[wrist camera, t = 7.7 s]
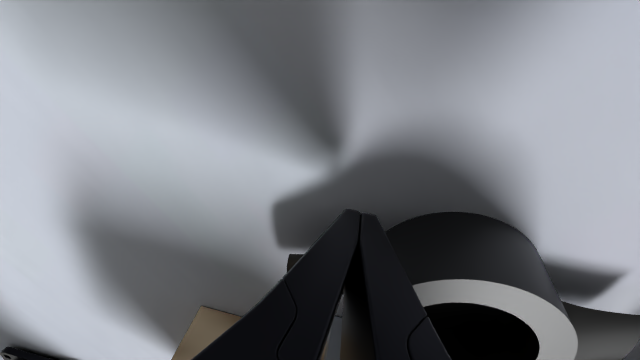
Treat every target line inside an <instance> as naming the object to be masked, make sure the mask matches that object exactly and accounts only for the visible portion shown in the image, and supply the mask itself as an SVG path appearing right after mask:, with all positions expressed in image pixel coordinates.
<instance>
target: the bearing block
mask: <svg viewBox="0 0 640 360" xmlns="http://www.w3.org/2000/svg"><path fill="white" fill-rule="evenodd" d="M241 318H242V317H240V316H236V315H232V314H229V313H225V312H221V311H217V310H214V309H210V308H206V307H203V306H201V307H200V309H199V311H198V312H197V314H196V316H195V318H194V320H193V321H192V323H191V325H190V327H189V329H188V330H187V332H186V334H185V336H184V338H183V339H182V341H181V343H180V345H179V347H178V348H177V350H176V352H175V354H174V356H173V357H172V359H171V360H191V359H192V358H193V357H195V356H196V355H197V354H198V353H200V352H201V351H202V350H203V349H204V348H206V347H207V346H208V345H209V344H210V343H212V342H213V341H214V340H215V339H217V338H218V337H219V336H220V335H221V334H223V333H224V332H225V331H226V330H227V329H229V328H230V327H231V326H232V325H233V324H235V323H236V322H237V321H238V320H239V319H241ZM326 343H327V341H326ZM325 349H326V344H325V347H324V350H323V353H322V356H321V359H320V360H324V355H325Z"/></svg>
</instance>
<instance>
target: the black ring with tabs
mask: <svg viewBox="0 0 640 360" xmlns="http://www.w3.org/2000/svg"><path fill="white" fill-rule="evenodd" d="M385 234H386V235H387V237H388V239H389V241H390V243H391V245H392V247H393V249H394V251H395V253H396V255H397V257H398V259H399V261H400V263H401V265H402V267H403V269H404V271H405V272H406V274H407V276H408V278H409V280H410V282H411V284H412V286H413V288H414V290H415V292H416V294H417V296H418V298H419V300H420V302H421V304H422V306H423V308H424V310H425V311H426V313H427V317H429V319H430V321H431V323H432V325H433V327H434V329H435V331H436V333H437V334H438V336H439V338H440V340H441V342H442V344H443V345H444V347H445V349H446V351H447V353H448V354H449V356H450V358H451V359H452V360H621V359H623V358H624V357H625V356H627V355H628V354H629V353H630V352H631V350H632V349H633V348H634V347H635V345H636V344H637V342H638V341H639V339H640V315H631V314H622V313H614V312H606V311H600V310H594V309H589V308H584V307H580V306H576V305H573V304H569V303H566V302H563V301H561V300H560V298H559V296H558V294H557V291H556V289H555V287H554V285H553V283H552V281H551V279H550V277H549V275H548V272H547V270H546V268H545V266H544V264H543V262H542V260H541V258H540V256H539V254H538V252H537V250H536V248H535V247H534V245H533V244H532V243H531V241H530V240H529V239H528V238H527V237H526V236H525V235H523V234H522V233H521V232H520V231H518V230H517V229H515V228H514V227H512V226H510V225H508V224H506V223H504V222H502V221H499V220H497V219H494V218H491V217H487V216H483V215H479V214H473V213H464V212H442V213H433V214H427V215H423V216H419V217H415V218H412V219H409V220H407V221H404V222H402V223H400V224H398V225H396V226H395V227H393V228H391V229H390V230H388V231H387V232H386V233H385ZM303 255H304V254H290V255H289V258H288V263H287V272H288V271H289V270H290V269H291V268H292V267H293V266H294V265H295V264H296V263H297V262H298V260H299V259H300V258H301V257H302V256H303ZM344 287H345V286H344ZM342 294H344V289H343V293H342Z"/></svg>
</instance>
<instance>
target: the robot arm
mask: <svg viewBox="0 0 640 360" xmlns="http://www.w3.org/2000/svg"><path fill="white" fill-rule="evenodd" d="M344 286H345V287H344ZM343 289H344V296H343V312H342V329H341V346H340V360H452V359H451V358H450V356H449V354H448V353H447V351H446V349H445V347H444V345H443V344H442V342H441V340H440V338H439V336H438V334H437V333H436V331H435V329H434V327H433V325H432V323H431V321H430V319H429V317H427V313H426V311H425V310H424V308H423V306H422V304H421V302H420V300H419V298H418V296H417V294H416V292H415V290H414V288H413V286H412V284H411V282H410V280H409V278H408V276H407V274H406V272H405V271H404V269H403V267H402V265H401V263H400V261H399V259H398V257H397V255H396V253H395V251H394V249H393V247H392V245H391V243H390V241H389V239H388V237H387V235H386V234H385V232H384V230H383V228H382V226H381V224H380V222H379V220H378V218H377V216H376V215H373V214H368V213H364V212H363V213H360V212H359V211H356V210H352V209H346V210H344V211H343V213H342V214H341V215H340V216H339V217H338V218H337V219H336V220H335V221H334V222H333V223H332V225H331V226H330V227H329V228H328V229H327V230H326V231H325V232H324V233H323V234H322V235H321V237H320V238H319V239H318V240H317V241H316V242H315V243H314V244H313V245H312V246H311V247H310V249H309V250H308V251H307V252H306V253H305V254H304V255H303V256H302V257H301V258H300V259H299V260H298V262H297V263H296V264H295V265H294V266H293V267H292V268H291V269H290V270H289V271H288V272H287V274H286V275H285V276H284V277H283V279H281V280H280V281H279V282H278V283H277V284H276V285H275V286H274V287H273V289H272V290H271V291H270V292H269V293H268V294H267V295H266V296H265V297H264V298H263V299H262V300H261V301H260V302H259V303H258V304H257V305H255V306H254V307H253V308H252V309H251V310H250V311H249V312H247V313H246V314H245V315H244V316H243V317H242V318H241V319H239V320H238V321H237V322H236V323H235V324H233V325H232V326H231V327H230V328H229V329H227V330H226V331H225V332H224V333H223V334H221V335H220V336H219V337H218V338H217V339H215V340H214V341H213V342H212V343H210V344H209V345H208V346H207V347H206V348H204V349H203V350H202V351H201V352H200V353H198V354H197V355H196V356H195V357H193V358H192V359H191V360H320V359H321V356H322V353H323V350H324V347H325V344H326V341H327V338H328V335H329V332H330V329H331V326H332V323H333V320H334V317H335V314H336V311H337V308H338V305H339V302H340V299H341V296H342V293H343ZM0 355H1V356H2V357H3V359H4V360H53V359H50V358H46V357H43V356H39V355H36V354H32V353H29V352H26V351H22V350H19V349H15V348H12V347H6V348H5V349H4V350H3V351H2V352H1V353H0Z"/></svg>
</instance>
